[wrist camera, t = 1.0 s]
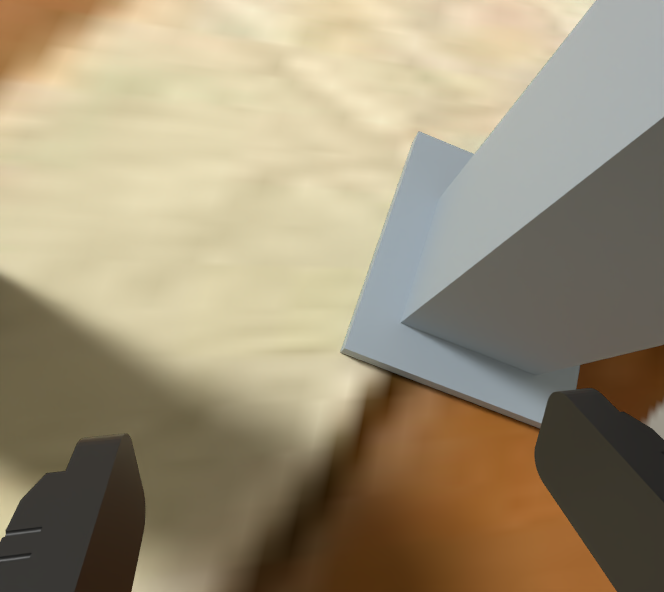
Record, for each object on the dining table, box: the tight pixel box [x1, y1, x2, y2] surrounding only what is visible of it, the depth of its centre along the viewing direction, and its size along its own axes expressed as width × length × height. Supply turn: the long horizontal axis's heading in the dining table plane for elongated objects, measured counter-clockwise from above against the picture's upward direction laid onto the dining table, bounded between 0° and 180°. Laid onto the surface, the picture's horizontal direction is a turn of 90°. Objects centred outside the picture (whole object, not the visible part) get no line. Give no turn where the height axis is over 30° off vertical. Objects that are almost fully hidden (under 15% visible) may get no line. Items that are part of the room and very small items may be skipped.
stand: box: [340, 0, 664, 428], centre depth 21 cm, size 24×16×32 cm, turn 161°
